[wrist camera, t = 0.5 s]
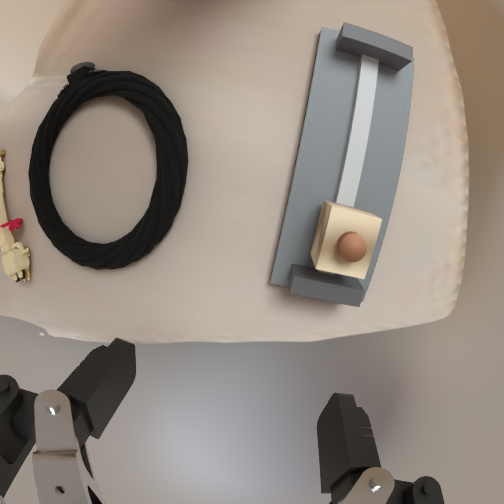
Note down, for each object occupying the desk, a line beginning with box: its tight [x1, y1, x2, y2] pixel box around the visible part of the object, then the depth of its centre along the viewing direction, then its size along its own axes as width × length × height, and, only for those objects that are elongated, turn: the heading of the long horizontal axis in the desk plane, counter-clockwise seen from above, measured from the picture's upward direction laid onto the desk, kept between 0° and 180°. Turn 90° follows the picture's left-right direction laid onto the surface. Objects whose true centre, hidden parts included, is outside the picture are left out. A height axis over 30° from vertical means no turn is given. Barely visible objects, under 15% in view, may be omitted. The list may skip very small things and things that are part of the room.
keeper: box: [310, 200, 382, 279], centre depth 26 cm, size 6×5×7 cm
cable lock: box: [28, 62, 188, 270], centre depth 31 cm, size 28×4×30 cm
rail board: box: [270, 22, 414, 307], centre depth 27 cm, size 32×12×6 cm, turn 169°
